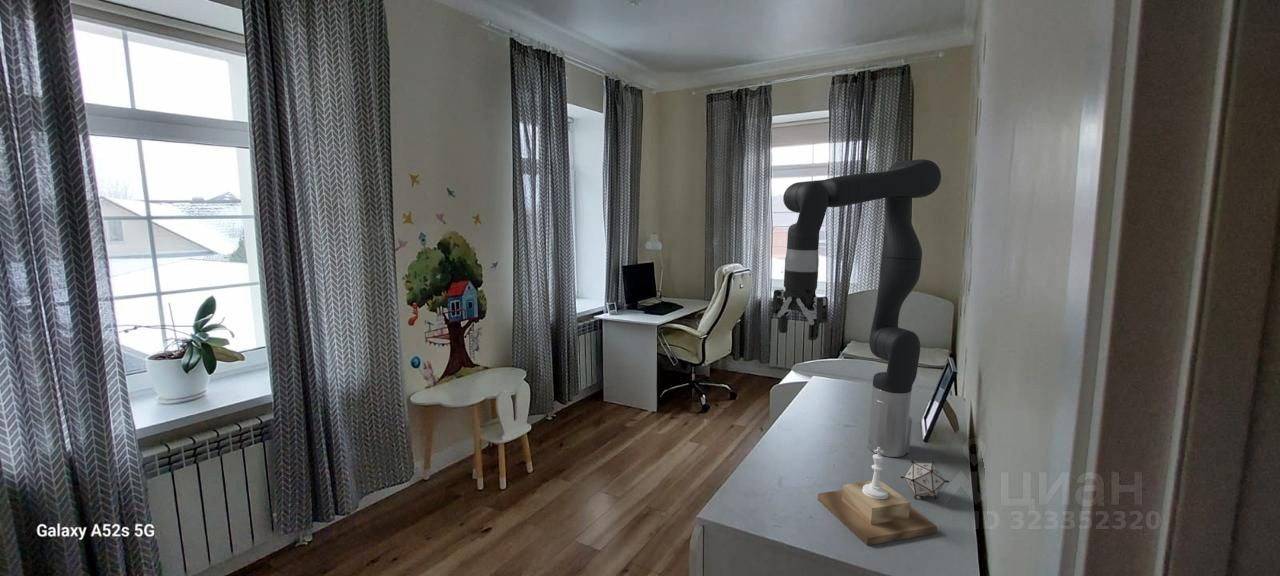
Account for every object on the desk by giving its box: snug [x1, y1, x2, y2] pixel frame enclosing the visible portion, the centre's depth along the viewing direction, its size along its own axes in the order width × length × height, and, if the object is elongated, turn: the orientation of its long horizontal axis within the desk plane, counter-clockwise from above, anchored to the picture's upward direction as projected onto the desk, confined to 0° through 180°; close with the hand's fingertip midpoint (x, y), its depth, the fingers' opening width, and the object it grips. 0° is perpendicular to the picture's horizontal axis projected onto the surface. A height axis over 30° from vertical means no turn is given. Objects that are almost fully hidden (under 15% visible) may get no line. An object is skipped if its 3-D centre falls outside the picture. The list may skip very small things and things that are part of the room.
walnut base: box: [817, 480, 938, 546], centre depth 107 cm, size 16×16×5 cm
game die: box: [899, 459, 950, 500], centre depth 115 cm, size 9×8×10 cm
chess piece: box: [862, 447, 888, 499], centre depth 106 cm, size 5×5×10 cm
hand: (797, 336), depth 123 cm, fingers open, 8 cm apart
